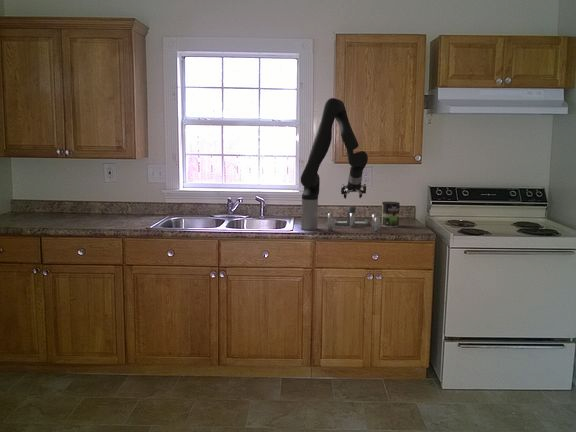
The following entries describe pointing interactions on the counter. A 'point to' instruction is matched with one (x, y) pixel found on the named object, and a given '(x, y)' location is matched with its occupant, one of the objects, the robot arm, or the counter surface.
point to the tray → (344, 223)
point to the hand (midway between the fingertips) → (352, 197)
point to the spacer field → (352, 221)
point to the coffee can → (390, 214)
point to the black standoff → (350, 210)
